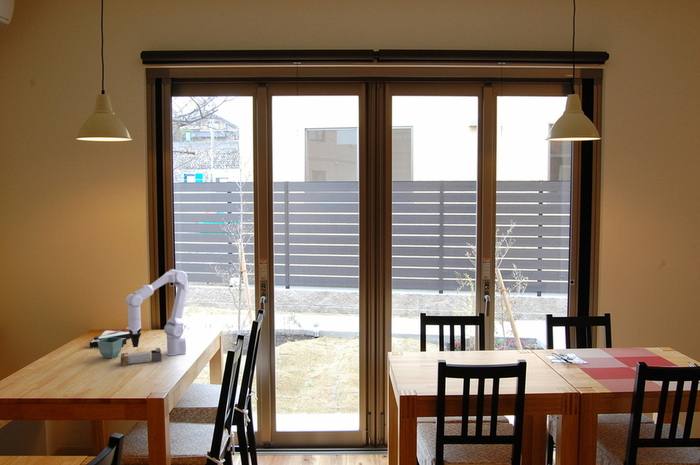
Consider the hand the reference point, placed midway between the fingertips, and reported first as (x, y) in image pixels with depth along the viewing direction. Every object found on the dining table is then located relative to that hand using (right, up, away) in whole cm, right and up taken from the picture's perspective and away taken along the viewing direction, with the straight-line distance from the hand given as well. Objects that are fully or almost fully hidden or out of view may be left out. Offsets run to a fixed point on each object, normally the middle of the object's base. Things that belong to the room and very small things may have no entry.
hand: (135, 344), depth 264 cm
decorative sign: (-29, -7, +39) cm, 49 cm away
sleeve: (+9, -9, +4) cm, 13 cm away
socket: (-5, -9, -1) cm, 10 cm away
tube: (0, -9, +1) cm, 9 cm away
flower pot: (-17, -9, +10) cm, 21 cm away
